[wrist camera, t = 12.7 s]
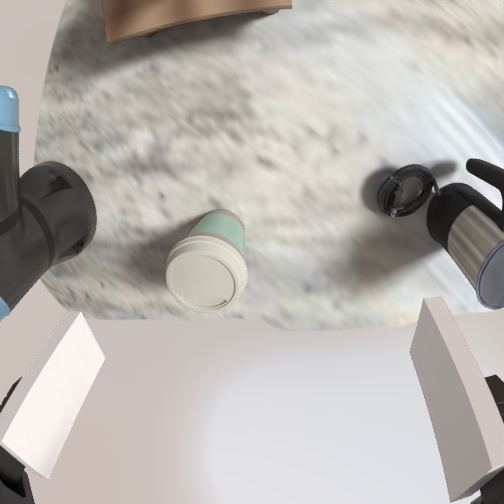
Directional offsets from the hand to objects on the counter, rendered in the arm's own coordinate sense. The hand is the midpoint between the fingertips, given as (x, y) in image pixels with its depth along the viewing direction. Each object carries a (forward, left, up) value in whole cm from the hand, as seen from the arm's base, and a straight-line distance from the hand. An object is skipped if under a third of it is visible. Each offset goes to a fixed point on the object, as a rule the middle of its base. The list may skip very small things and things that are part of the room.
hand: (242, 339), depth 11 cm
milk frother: (+21, -7, -29) cm, 36 cm away
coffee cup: (-7, -9, -29) cm, 31 cm away
